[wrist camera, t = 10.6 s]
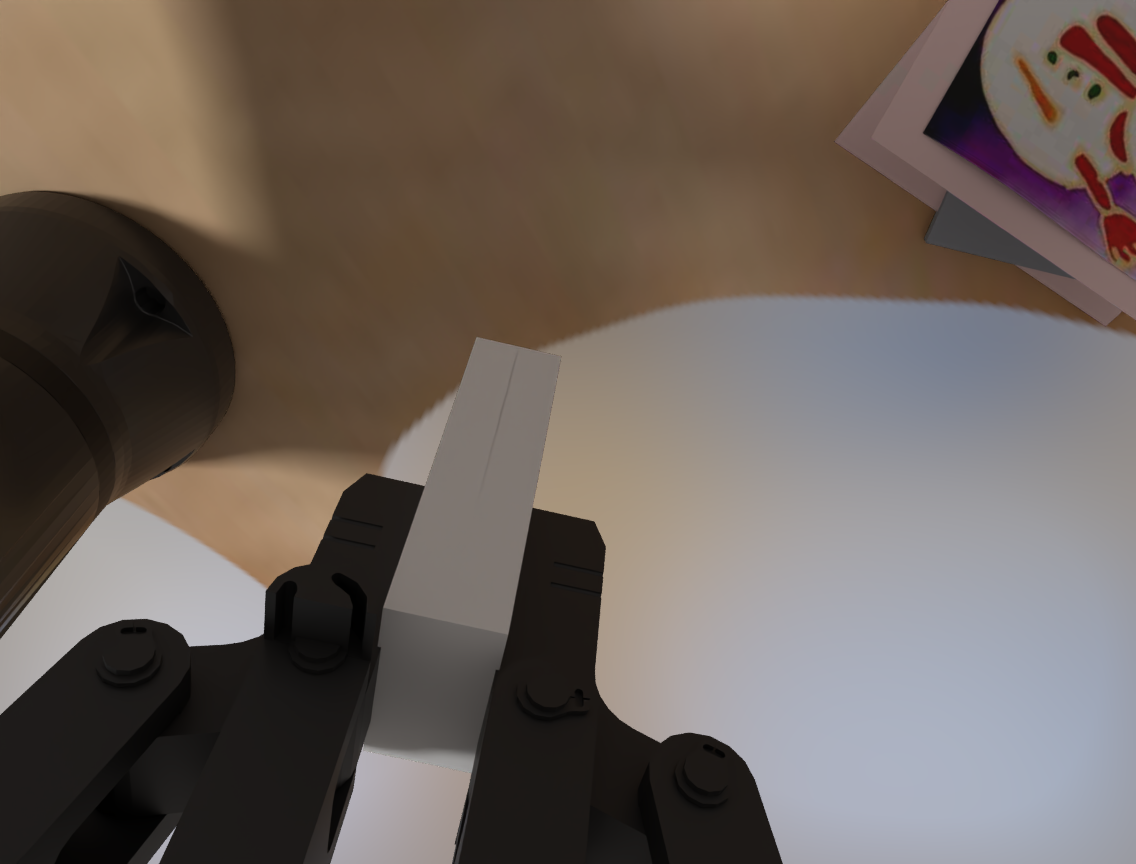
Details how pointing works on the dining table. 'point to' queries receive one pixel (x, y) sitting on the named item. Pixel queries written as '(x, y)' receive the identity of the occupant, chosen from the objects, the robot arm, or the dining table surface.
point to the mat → (982, 237)
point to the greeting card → (1023, 133)
